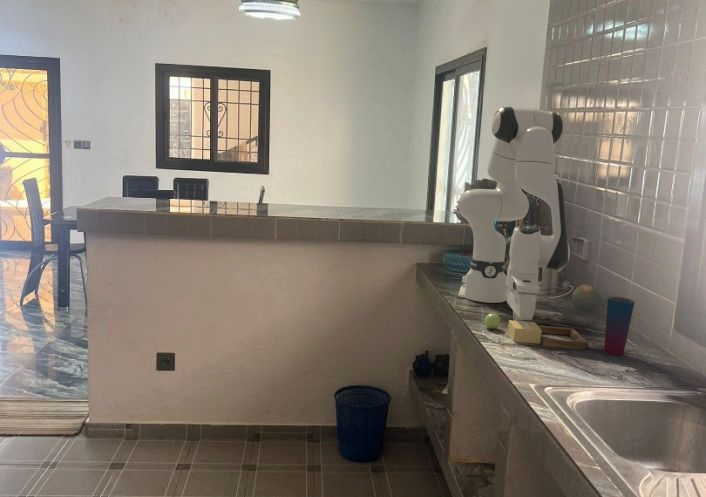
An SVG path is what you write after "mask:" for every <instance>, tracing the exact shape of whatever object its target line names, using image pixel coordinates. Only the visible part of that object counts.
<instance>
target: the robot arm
mask: <svg viewBox="0 0 706 497" xmlns="http://www.w3.org/2000/svg"><path fill="white" fill-rule="evenodd" d="M563 129H564V123H563V120H562V117H561V116H560V114H558V113H555V112H553V111H545V110H541V109H538V108H531V107H530V108H526V107H524V108H523V107H512V106H506V107H505V106H503V107H500V108H499V109H497V111H496V112H495V113H494V116H493V118H492V122H491V131H492V134H493V136H494V137H495V141H494V143H493V147H492V150H491V154H490V157H489V162H488V165H487V168H486V170H487V175H488V176H489V177H490V178H491V179H492V180H493V181H494V182H496V187H495V188H494V189H491V188H490V189H489V188H488V189H486V188H475V189H469V190H468V189H467V190H465V191H463V193H462V194H461V195H460V196H459V199H458V204H457V206H458V211H459V213H460V215H461V216H462V217H463V219H465V221H467V222H468V225H469V226H470V229H471V231H472V235H473V249H472V250H473V251H472V257H471V260H470V265H469V266H470V268H469V271H468V272H467V273H466V275H463V276H461V277H462V279H461V283H463V284H462V285H461V286H460V288H459V292H458V298H463V299H467V300H470V301H475V302H479V303H489V304H490V303H491V304H492V303H493V304H494V303H495V304H496V303H497V304H498V303H503V302H506V303H507V304H508V306H509V307H510V308H511V309H512V316H513V318H512V319H513V321H532V320H533V318H534V316H535V315H534V314H535V311H536V304H537V298H538V297H537V294H539V293H540V285H539V268H545V269H548V270H553V271H558V270H561V269H562V268H564V267H565V266H567V265H568V264H569V260H570V257H571V256H570V254H571V250H570V244H569V240H568V233H567V216H566V208H565V207H566V205H565V204H566V203H565V198H564V197H565V196H564V190H563V186H562V184H561V183H560V182H558V181H557V180H556V177H555V175H554V157H555V156H554V151H555V150H554V144H556V143H557V142H558V141H559V140H560V139H561V137H562V134H563V131H564V130H563ZM523 191H524V192H523ZM525 192H526V193H528V194H530V195H533V196H535V197H536V198H538V199H540V200H543V202H545V203H546V204H547V205H548V206H549V208H550V212H551V224H552V226H551V227H552V233H551V234H550V235H544V234H542V231H541V229H540V228H539V227H538V226H535V225H532V224H519V225H516V226H515V227H514V228H513V233H512V234H511V236H509V237H508V238H506V237H505V236H504V235H503V234H502V233H500V232H499V231H497V230H496V227H495V222H513V221H519V220H523V219H524V218H525V217H526V216H527V214H528V212H529V209H530V203H529V202H530V201H529V199H528V197H527V195H526V194H525ZM505 258H506V259H507V260H508V261H509V264H508V266H507V270H506V260H505ZM505 270H506V271H507V273H505Z"/></svg>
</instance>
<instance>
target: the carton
mask: <svg viewBox="0 0 706 497" xmlns="http://www.w3.org/2000/svg"><path fill="white" fill-rule="evenodd" d="M539 326H540V325H538V324H537V323H536V322H535V321H527V320H523V321H514V320H510V319H509V320H508V325H507V335H508V336H509V337H511V338H510V339H511V340H512V342H514V343H525V344H526V343H527V344H538V345H539V344H541V338H542V333H541V331H542V330H541V329H540V328H539Z"/></svg>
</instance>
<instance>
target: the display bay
mask: <svg viewBox="0 0 706 497" xmlns="http://www.w3.org/2000/svg"><path fill="white" fill-rule="evenodd" d="M538 326H539V328H540V329H541V330H542V331H541V334H552V335H567V336H570V337H571V339H573V340H566V339H565V340H563V339H552V338H543V339H542V346H543V347H548V348H560V349H563V348H564V349H576V350H577V349H578V350H589V344H590V342H588V341H587V340H586V339H585V338H584V337H583V336H582V335H581V334H580V333H579V332H578V331H576V329H575V328H574V327H564V326H562V327H560V326H549V325H548V326H545V325H538Z"/></svg>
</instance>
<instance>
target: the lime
mask: <svg viewBox="0 0 706 497" xmlns="http://www.w3.org/2000/svg"><path fill="white" fill-rule="evenodd" d="M500 324H501V318H500V316H499V315H498V314H496V313H488V314H487V315H486V316H485V318H484V325H485V326H486V327H487V328H488V329H491V330H494V329H497V328H498V327H499V326H500Z"/></svg>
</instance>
